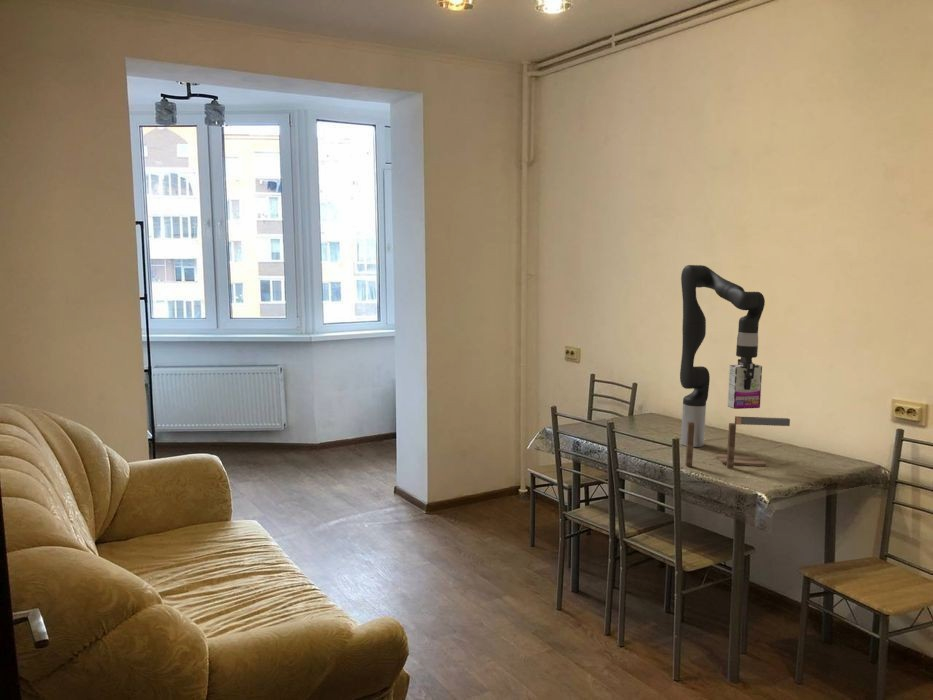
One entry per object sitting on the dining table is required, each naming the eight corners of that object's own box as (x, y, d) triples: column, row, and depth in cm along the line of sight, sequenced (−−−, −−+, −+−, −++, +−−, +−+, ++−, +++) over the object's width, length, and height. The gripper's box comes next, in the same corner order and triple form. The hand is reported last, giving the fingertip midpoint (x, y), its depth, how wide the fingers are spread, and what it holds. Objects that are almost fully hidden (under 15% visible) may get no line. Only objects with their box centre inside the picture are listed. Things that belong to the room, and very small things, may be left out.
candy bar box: (752, 405, 276) (755, 364, 274) (760, 408, 271) (763, 365, 269) (726, 406, 274) (729, 364, 272) (733, 409, 269) (736, 366, 267)
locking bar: (734, 423, 265) (735, 416, 264) (787, 425, 263) (788, 418, 263) (736, 424, 263) (736, 417, 262) (789, 426, 261) (790, 419, 260)
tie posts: (685, 465, 268) (687, 421, 266) (731, 467, 267) (734, 423, 265) (686, 466, 266) (688, 422, 264) (733, 468, 265) (736, 424, 263)
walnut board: (715, 456, 282) (715, 453, 281) (756, 458, 280) (756, 455, 280) (722, 464, 270) (723, 462, 270) (766, 466, 268) (766, 463, 268)
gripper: (763, 346, 262) (760, 391, 264) (751, 342, 276) (749, 385, 278) (742, 346, 263) (739, 391, 265) (731, 342, 277) (729, 384, 279)
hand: (744, 387), depth 272 cm, fingers closed on candy bar box, 6 cm apart
